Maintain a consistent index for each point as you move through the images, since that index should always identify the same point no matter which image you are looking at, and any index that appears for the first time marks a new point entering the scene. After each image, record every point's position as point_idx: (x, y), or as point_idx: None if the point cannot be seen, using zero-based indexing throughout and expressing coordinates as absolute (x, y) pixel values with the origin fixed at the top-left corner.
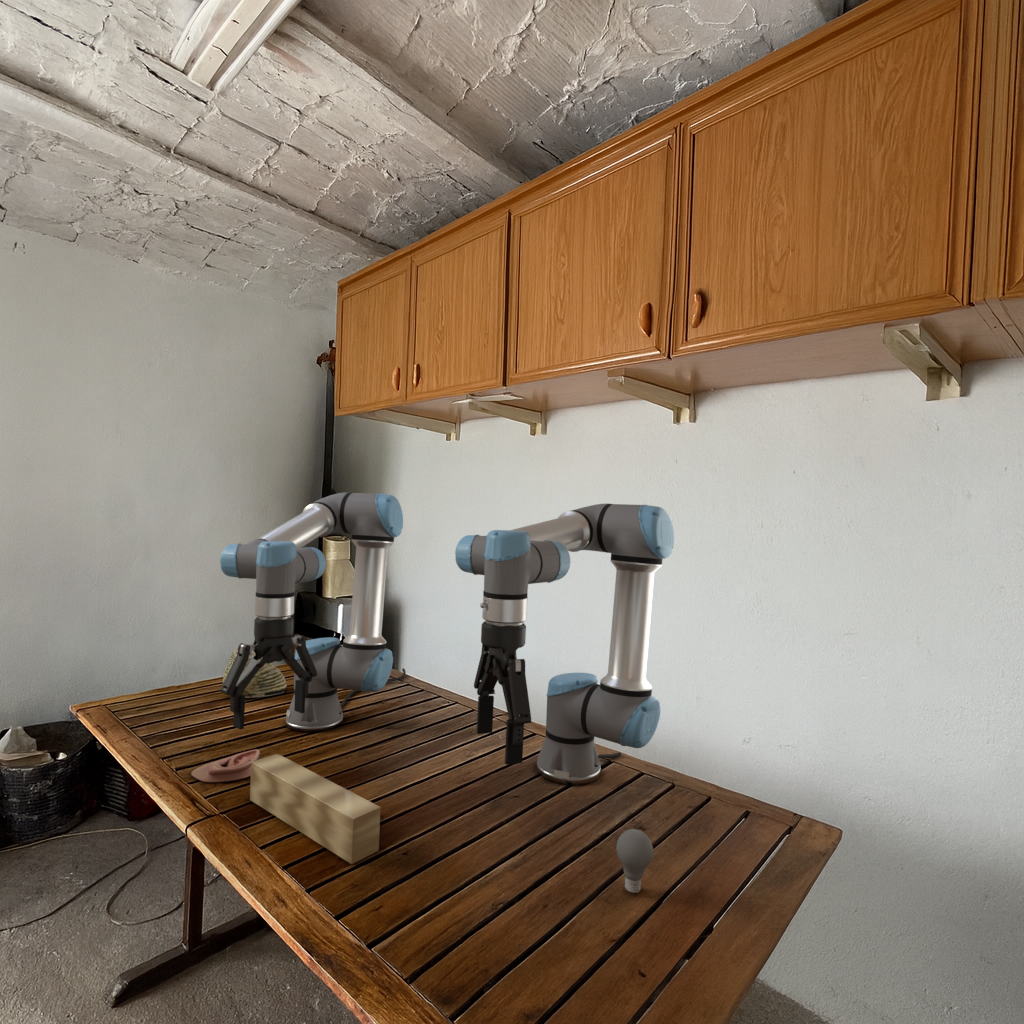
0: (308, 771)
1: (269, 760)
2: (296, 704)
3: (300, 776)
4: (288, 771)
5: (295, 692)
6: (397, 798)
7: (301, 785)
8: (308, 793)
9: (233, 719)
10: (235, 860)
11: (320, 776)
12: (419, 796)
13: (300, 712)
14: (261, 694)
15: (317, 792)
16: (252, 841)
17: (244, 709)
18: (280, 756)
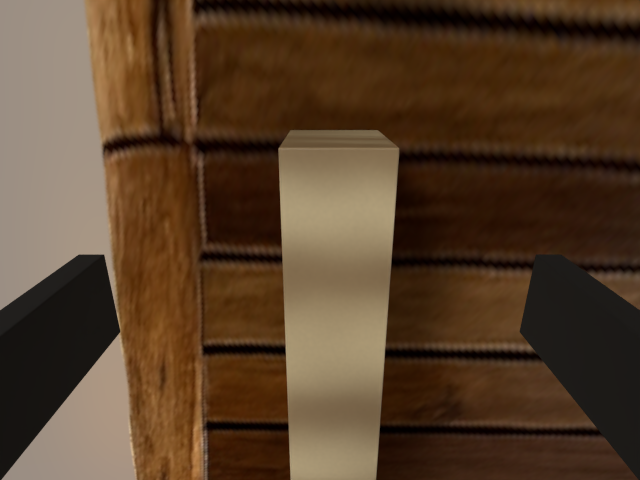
0: (376, 354)
1: (336, 188)
2: (557, 300)
3: (336, 366)
4: (331, 314)
5: (627, 337)
6: (544, 381)
7: (303, 410)
8: (291, 452)
9: (50, 276)
10: (145, 354)
11: (378, 401)
12: None
13: (522, 324)
14: None
15: (311, 462)
16: (201, 318)
17: (44, 424)
18: (388, 184)
